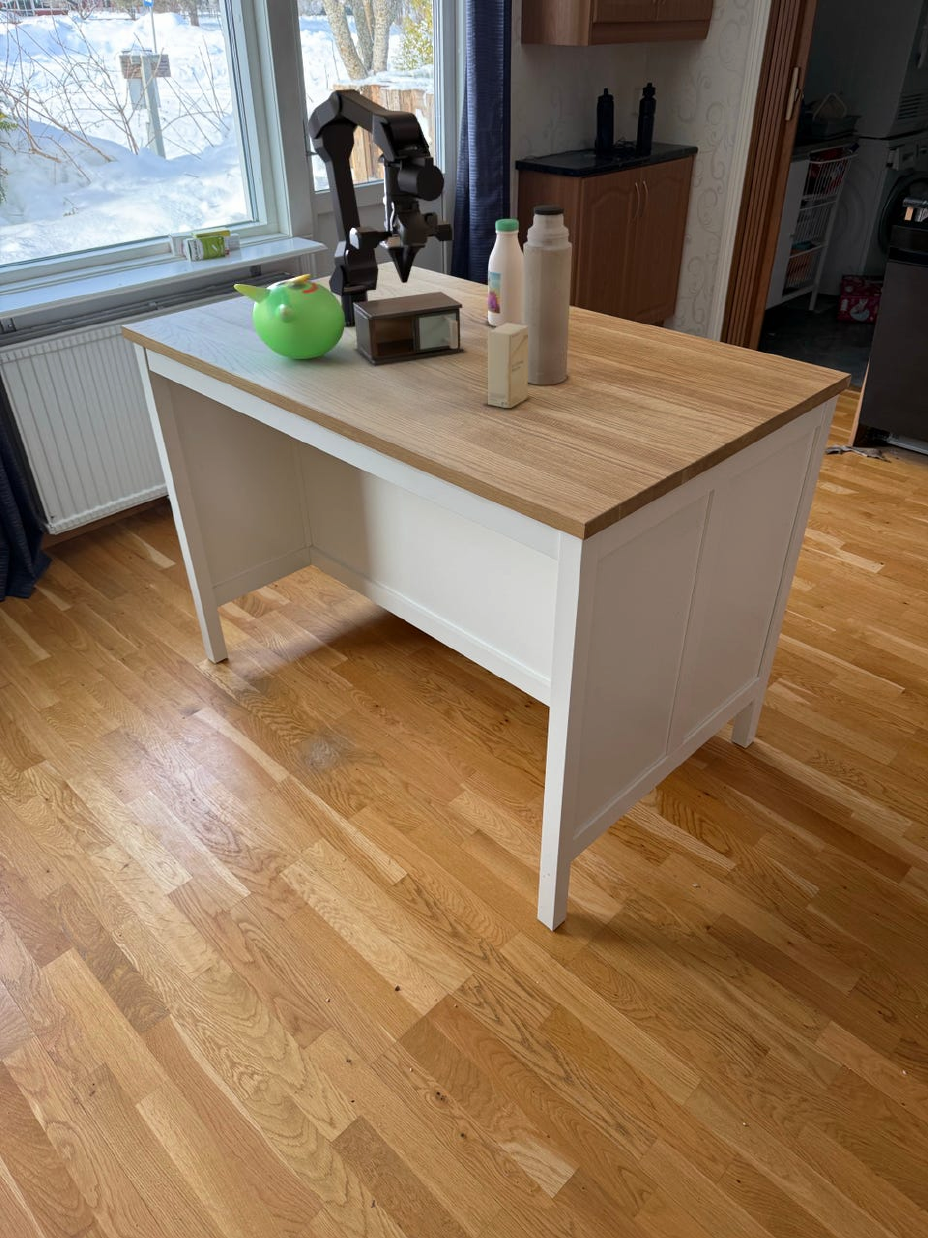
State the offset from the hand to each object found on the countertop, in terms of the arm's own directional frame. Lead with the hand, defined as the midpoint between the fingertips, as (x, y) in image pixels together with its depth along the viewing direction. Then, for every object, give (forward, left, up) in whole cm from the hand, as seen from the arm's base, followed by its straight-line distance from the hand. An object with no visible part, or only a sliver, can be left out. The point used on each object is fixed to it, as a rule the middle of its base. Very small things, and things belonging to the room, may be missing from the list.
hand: (404, 282), depth 170 cm
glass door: (+11, +3, -11) cm, 16 cm away
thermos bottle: (+29, +15, -12) cm, 35 cm away
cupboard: (+3, -1, -12) cm, 12 cm away
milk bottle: (-5, +24, -12) cm, 27 cm away
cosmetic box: (+37, +4, -12) cm, 39 cm away
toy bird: (-2, -21, -12) cm, 24 cm away
